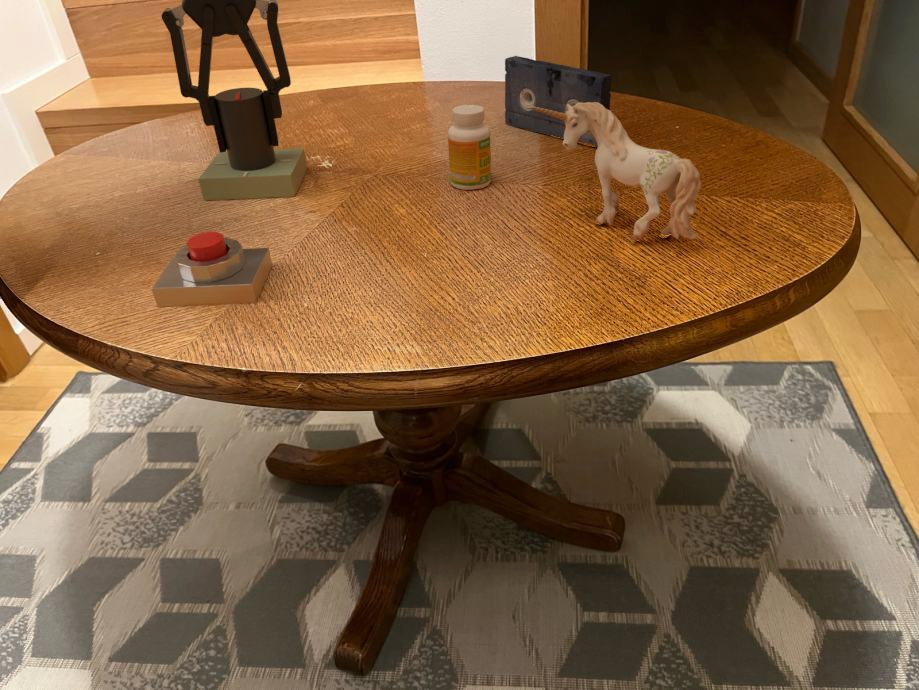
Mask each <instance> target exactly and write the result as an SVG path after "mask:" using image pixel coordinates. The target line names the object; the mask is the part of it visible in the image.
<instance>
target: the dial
mask: <svg viewBox="0 0 919 690" xmlns="http://www.w3.org/2000/svg"><path fill="white" fill-rule="evenodd" d="M263 91H264V90H262V88H261V89H260V88H258V87H236V88H231V89H226V90H222V91H220V92H218V93H216V94H215V95H214V96H215V102H216V106H217V110H218V115H219V119H220V123H221V128H222V132H223V136H224V141H225V145H226V152H227V154H228V158H229V163H230V166H231V168H233V169H236V170H243V171H248V170H257V169H262V168H265V167H268V166H270V165H272V164H273V163H274V162H275V161H276V158H275V153H274V150H275V148H274V147H275V146H273V145H272V140H271V135H270V130H269V125H268V119H267V114H266V109H265V104H264V99H263Z"/></svg>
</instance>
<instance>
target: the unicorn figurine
mask: <svg viewBox="0 0 919 690" xmlns="http://www.w3.org/2000/svg"><path fill="white" fill-rule="evenodd" d="M567 107H568V110H569V111H567V112H566V113H565V114H564V113H559V112H556V111H552V110H548V109H543V108H539V107H535V106H532V107H531V108H532V109H533V110H536V111H538V112H541V113H544V114H547V115H549V116H553V117H555V118H558V119H560V120H563V121H565V125H566V129H565V132H564V140H562V146H563V147H564V148H565V149H566V150H567V151H568V152H569V151H573V150H574V149H576V148H578V144H577V141H578V139H579V138H580V137H581V135H583V134H585V133H586V132H587V131H588V130H589V131H590V132H591V133H592V134H593V136H594V137H595V139H596V141H597V145H598V147H597V148H596V150H595V153H594V164H595V166H596V171H597V173H598V180H599V182H600V186H601V195H602V200H603V211H602V213H601V214H599V215H597V217H596V219H595V220H594V223H595V222H596V223H600V224H603V223H604V224H605V223H606V222H607V224H608V225H609V226H610V225H612V226H613V225H614V219H615V217H616V215H617V214H616V211H618V210H620V198H619V196H618V195H617V194H616V192H614V191H612V181H613V180H616V181H617V182H619V183H621V184H623V185H625V186H627V187H635V188H639V187H641V190H642V192H643V193H644V199H645V201H646V204H647V207H648V210H647V212H646V213H645V214H644V215H643V216H642V217H640V218H639V219H637V220H636V221H635V222H634V225H633V231H632V232H633V235H632V236H633V237H632V241H633V240H635V242H638V241H637V240H639V239H640V238H642V239H644V238H645V237H646V235H645V234H646V233H647V232H648V231H649V230H650V228H651V221H652V220H654V219H656V218H658V217H660V216H661V215H662V211H661V207H660V196H661V194H662V193H664V195H665V197H666V199H667V201H668V202H669V206H670V207H669V214H670V219H669V222H668V225H667V226H666V227H663V228H662V229H661V230H660V231H661V233H662V234H663V235H669V234H672V236H671V237H672V238H674V237H675V239H676V240H679V239H680V236H682V237H683V238H685V239H688V240H692V241H693V240H696V239H697V234H696V233H695V232H694V228H693V226H692V224H691V217H692V215H694V214H695V213H697V207H696V205H695V201H696V200H697V198H698V196H699V191H700V190H701V188H702V181H701V180H700V178H701V175H700V172H699V170H698V168H697V167H696V166H695V165H694V163H693V162H692V161H691V159H689V158H681V157H680V156H678V155H677V154H675V153H674V152H672V151H669V150H665V149H657V148H655V149H654V148H648V147H646V146H645V147H644V146H643V145H639V144H637V143H635V142H634V141H633V140H632V139H631V138H630V137H629V135H628V132H627V130H626V129H625V128H624V126H623V123H622V122H621V121H620V120H619V118H618V117H617V116H616V115H615V114H614V113H613V112H612V110H611V109H610V110H608V109H606V108H605V107H604V106H603V105H601V104H600V103H597V102H593V103H590V102H587V103H582V102H581V103H577V104H576V105H575V106H570V105H569V104H567ZM618 212H619V211H618ZM615 214H616V215H615ZM596 223H595V224H596ZM604 224H603V225H604ZM639 241H640V240H639Z"/></svg>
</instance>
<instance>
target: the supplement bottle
mask: <svg viewBox="0 0 919 690" xmlns="http://www.w3.org/2000/svg"><path fill="white" fill-rule="evenodd" d="M451 113H452V114H451V116H452V117H451V118H452V122H453V124H452V125H450V127H449V128H448V131H447V143H448V144H447V145H448V163H449V180H450V184H451V186H453V188H456V189H459V190H464V191H474V190H480V189H483V188H485V187H488V186H489V185H490V183H491V181H492V157H491V156H492V153H491V151H492V150H491V149H492V148H491V130H490V127H489V126H488V125H487V124H486V123H484V121H485V108H484V107H483V106H482V105H478V104H461V105H457V106H454V107H453V108H452V110H451Z"/></svg>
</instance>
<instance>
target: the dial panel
mask: <svg viewBox="0 0 919 690" xmlns="http://www.w3.org/2000/svg"><path fill="white" fill-rule="evenodd" d="M274 153H275V158H276V161H275V162H274V163H273V164H272V165H270V166H268V167H265V168H262V169H257V170H248V171H243V170H236V169H233V168H231V166H230V163H229V158H228V154H227V151H226V152H221V153H220V151H218V153H216V155H215V157H214V158H213V159H212V160H211V162H210V163H209V164H208V165H207V166H206V168H205V169H204V171H203V172H202V173H201V175H200V176H199V177H198V179H197V180H198V184H199V187H200V191H201V195H202V199H203V201H224V200H246V199H247V200H249V199H270V198H292V197H293V198H295V197H296V195H297V192H298V190H299V188H300V187H301V183H302V181H303V179H304V177H305V175H306V173H307V170H308V164H307V157H306V152H305V148H303V147H301V148H300V147H299V148H276V149H275V148H274Z"/></svg>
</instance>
